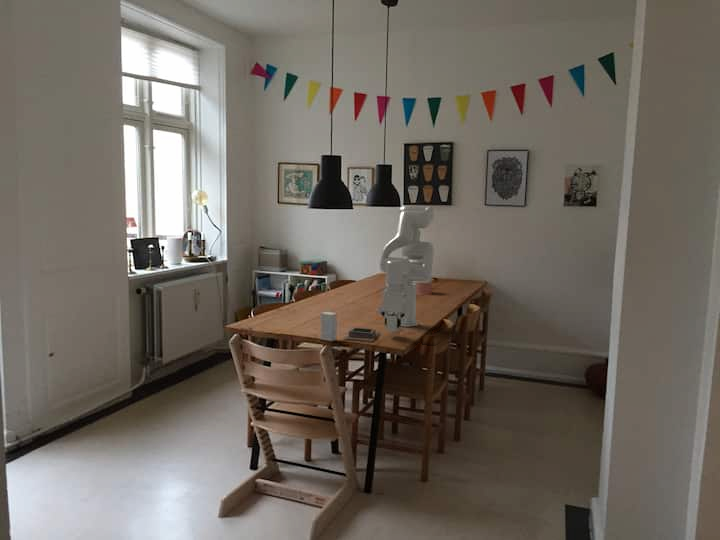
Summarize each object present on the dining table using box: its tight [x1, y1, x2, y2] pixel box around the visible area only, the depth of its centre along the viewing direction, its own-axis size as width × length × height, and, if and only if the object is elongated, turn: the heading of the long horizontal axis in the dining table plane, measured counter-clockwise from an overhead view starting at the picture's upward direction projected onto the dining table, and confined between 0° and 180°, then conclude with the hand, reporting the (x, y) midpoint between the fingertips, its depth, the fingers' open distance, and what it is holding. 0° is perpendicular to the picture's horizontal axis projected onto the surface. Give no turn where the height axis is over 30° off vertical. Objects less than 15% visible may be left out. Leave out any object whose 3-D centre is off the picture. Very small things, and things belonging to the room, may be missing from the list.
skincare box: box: [320, 311, 338, 342], centre depth 253 cm, size 6×4×12 cm
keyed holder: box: [343, 326, 381, 343], centre depth 261 cm, size 16×13×3 cm
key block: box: [385, 312, 399, 333], centre depth 262 cm, size 7×4×7 cm, turn 167°
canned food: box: [414, 274, 433, 295], centre depth 381 cm, size 11×11×12 cm
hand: (392, 326), depth 262 cm, fingers closed on key block, 4 cm apart
